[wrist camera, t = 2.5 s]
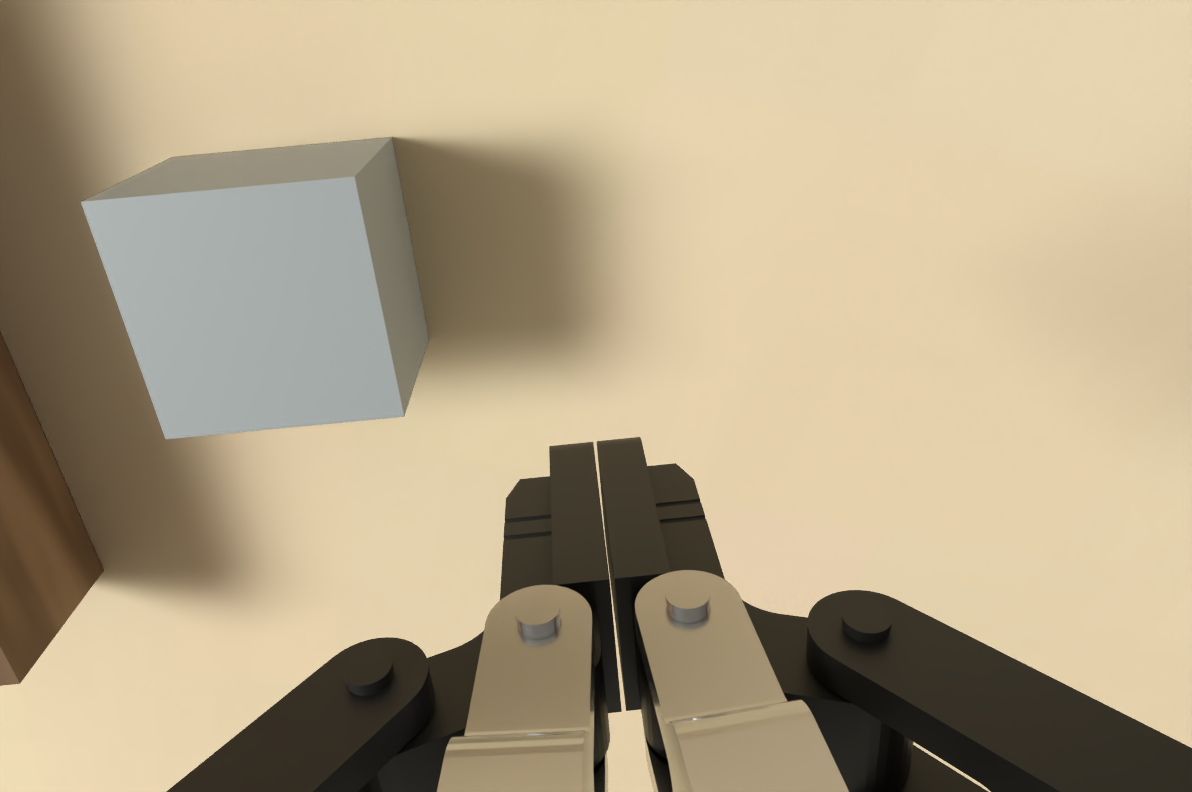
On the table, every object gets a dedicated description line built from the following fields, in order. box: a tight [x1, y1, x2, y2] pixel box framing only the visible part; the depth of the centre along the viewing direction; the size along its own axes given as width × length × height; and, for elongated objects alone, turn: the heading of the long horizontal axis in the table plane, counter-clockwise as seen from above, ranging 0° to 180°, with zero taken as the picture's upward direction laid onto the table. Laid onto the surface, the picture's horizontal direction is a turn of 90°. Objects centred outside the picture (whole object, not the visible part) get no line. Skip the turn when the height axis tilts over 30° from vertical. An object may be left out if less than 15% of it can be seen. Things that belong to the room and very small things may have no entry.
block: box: [81, 137, 429, 439], centre depth 26 cm, size 7×7×6 cm
